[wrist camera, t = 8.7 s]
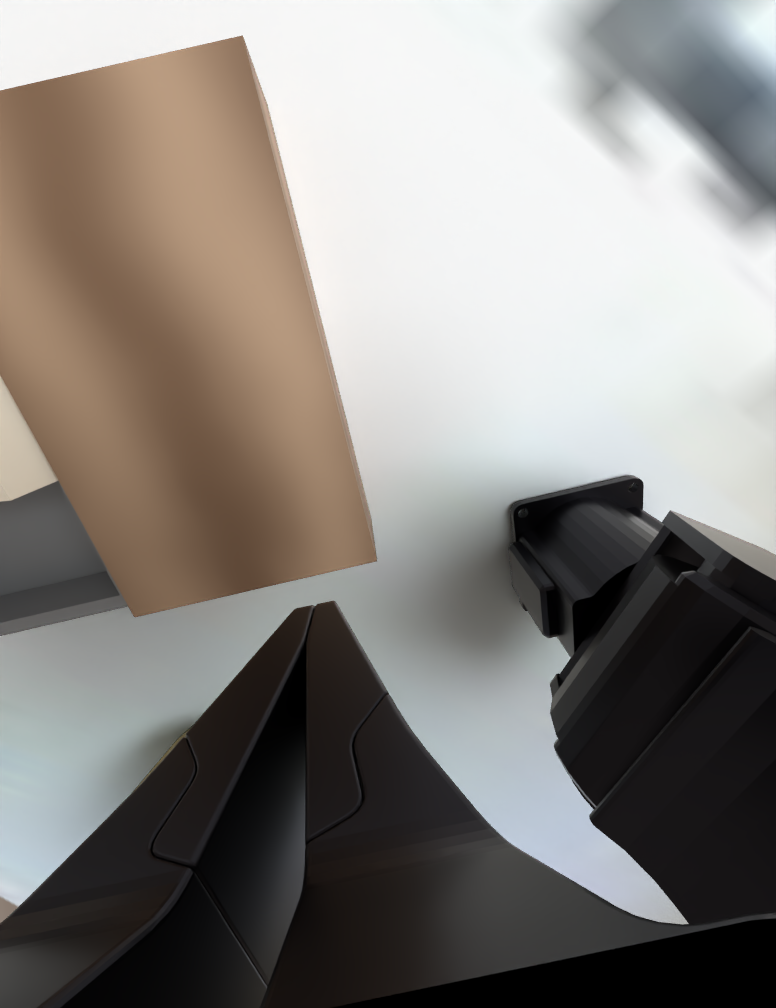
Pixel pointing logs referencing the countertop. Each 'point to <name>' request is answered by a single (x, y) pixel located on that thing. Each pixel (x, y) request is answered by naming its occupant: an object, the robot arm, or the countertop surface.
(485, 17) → the countertop surface
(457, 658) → the countertop surface
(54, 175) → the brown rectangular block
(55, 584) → the charcoal bin
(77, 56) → the countertop surface
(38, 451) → the cream block
